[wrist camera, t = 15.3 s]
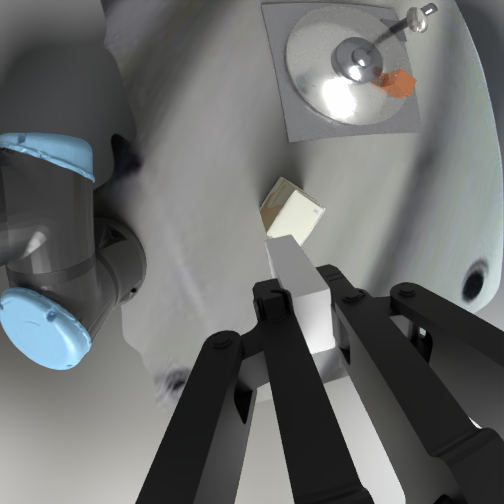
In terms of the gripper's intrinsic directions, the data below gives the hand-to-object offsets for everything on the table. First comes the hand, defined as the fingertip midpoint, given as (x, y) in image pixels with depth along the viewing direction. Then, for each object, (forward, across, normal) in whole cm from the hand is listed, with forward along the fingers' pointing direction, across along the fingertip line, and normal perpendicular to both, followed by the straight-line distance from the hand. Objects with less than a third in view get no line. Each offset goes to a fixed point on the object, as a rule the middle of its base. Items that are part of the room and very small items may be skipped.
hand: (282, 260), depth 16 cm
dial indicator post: (+28, +30, +23) cm, 47 cm away
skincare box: (+28, +4, -3) cm, 29 cm away
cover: (+25, +19, +16) cm, 35 cm away
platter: (+27, +19, +17) cm, 37 cm away
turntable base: (+28, +19, +16) cm, 38 cm away
